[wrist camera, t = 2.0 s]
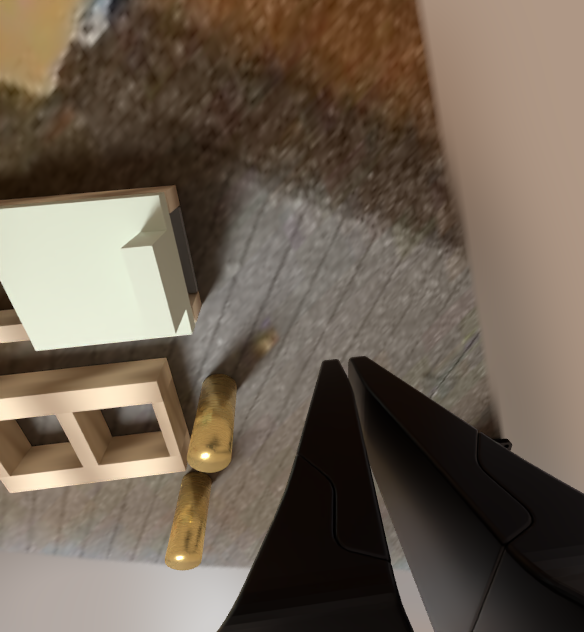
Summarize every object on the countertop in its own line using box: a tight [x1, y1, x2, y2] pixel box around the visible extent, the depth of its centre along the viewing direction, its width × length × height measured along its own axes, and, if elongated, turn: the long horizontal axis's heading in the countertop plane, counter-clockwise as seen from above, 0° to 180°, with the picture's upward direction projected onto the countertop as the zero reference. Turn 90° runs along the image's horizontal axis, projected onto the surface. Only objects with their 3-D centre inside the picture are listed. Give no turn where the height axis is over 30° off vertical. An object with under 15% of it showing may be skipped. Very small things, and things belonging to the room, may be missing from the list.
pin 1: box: [165, 472, 212, 570], centre depth 26 cm, size 2×2×6 cm
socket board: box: [0, 358, 190, 493], centre depth 23 cm, size 12×8×2 cm, turn 94°
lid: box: [0, 192, 195, 351], centre depth 15 cm, size 8×7×4 cm
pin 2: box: [187, 374, 237, 473], centre depth 21 cm, size 2×2×6 cm
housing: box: [0, 185, 202, 343], centre depth 18 cm, size 17×7×2 cm, turn 94°
